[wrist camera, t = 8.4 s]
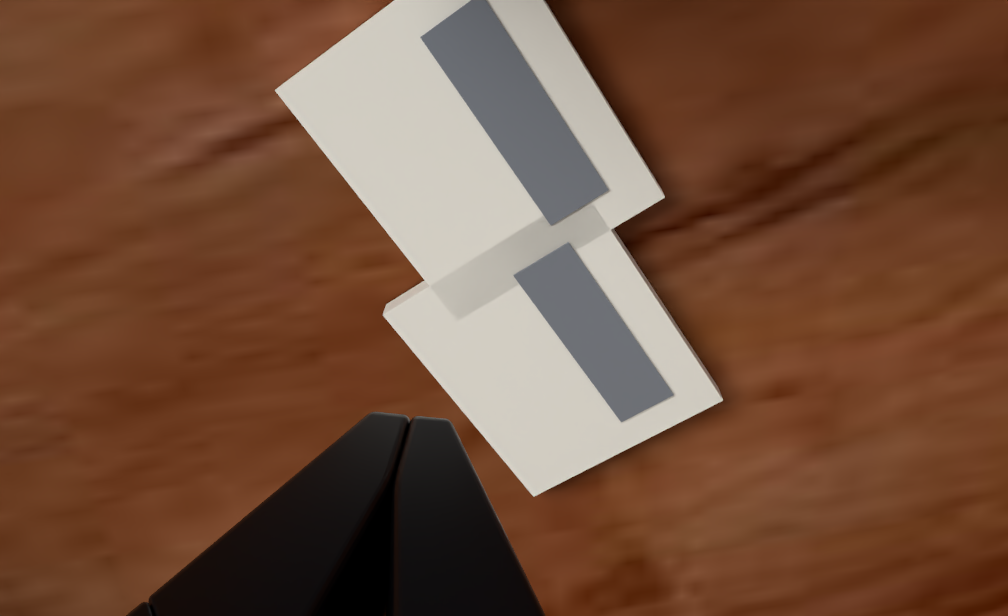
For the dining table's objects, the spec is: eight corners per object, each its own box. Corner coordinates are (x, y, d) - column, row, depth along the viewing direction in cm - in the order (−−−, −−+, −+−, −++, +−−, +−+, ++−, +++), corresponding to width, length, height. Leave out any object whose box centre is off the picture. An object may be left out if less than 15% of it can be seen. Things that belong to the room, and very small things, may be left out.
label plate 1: (458, 310, 22) (457, 322, 21) (281, 84, 19) (274, 91, 18) (661, 189, 20) (665, 197, 19) (497, -77, 17) (496, -76, 17)
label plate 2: (533, 483, 24) (533, 498, 23) (386, 304, 21) (382, 316, 21) (718, 388, 22) (724, 401, 22) (583, 181, 20) (584, 191, 19)
